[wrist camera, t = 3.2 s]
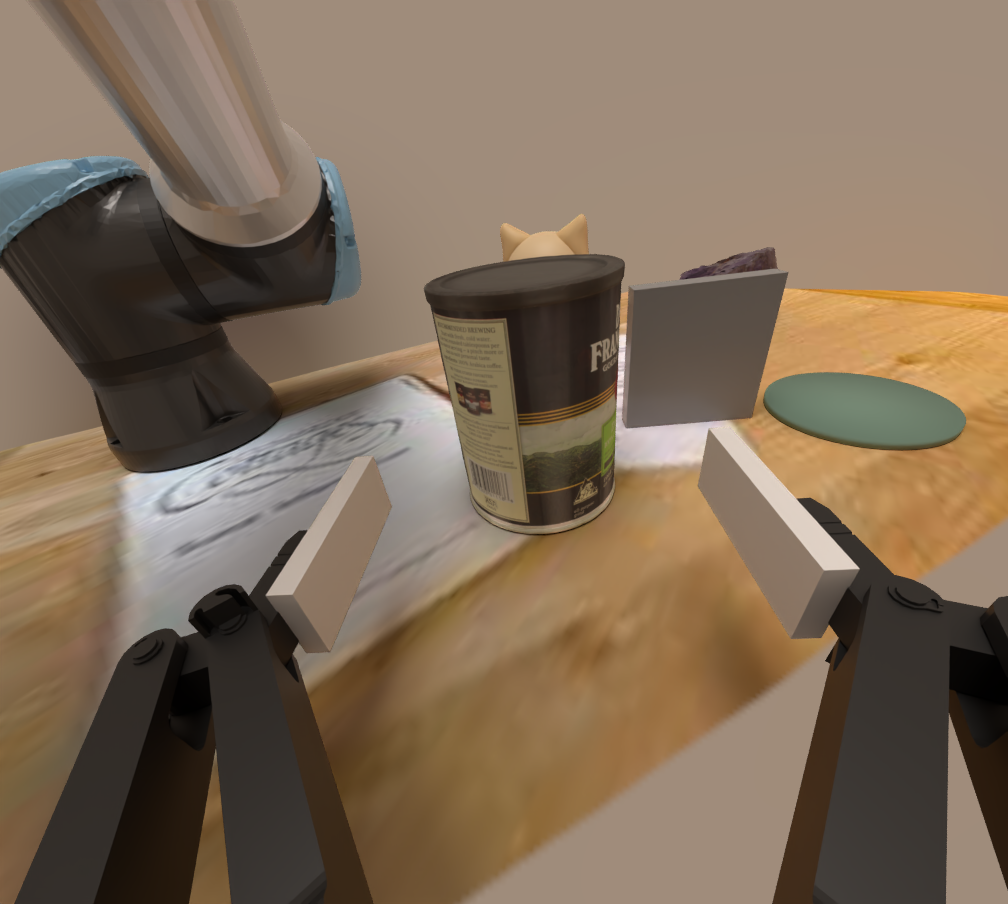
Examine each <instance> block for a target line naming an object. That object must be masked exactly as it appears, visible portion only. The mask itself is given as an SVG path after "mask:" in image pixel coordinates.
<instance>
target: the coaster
mask: <svg viewBox="0 0 1008 904" xmlns="http://www.w3.org/2000/svg"><path fill="white" fill-rule="evenodd" d="M764 405H765V407H766V409H767V410H768V412H769V413H770V414H771V415H772V416H774V417H775V418H776V419H778V420H779V421H781V422H783V423H784V424H786V425H788V426H790V427H792V428H794V429H796V430H799V431H801V432H804V433H806V434H809V435H812V436H815V437H818V438H822V439H825V440H829V441H833V442H837V443H842V444H846V445H852V446H858V447H865V448H873V449H886V450H915V449H925V448H931V447H936V446H940V445H943V444H946V443H949V442H951V441H953V440H954V439H956V438H957V437H958V436H959V435H960V433H961V431H962V430H963V428H964V426H965V424H966V417H965V415H964V413H963V412H962V411H961V409H960V408H958V407H957V406H956V405H955V404H954V403H952V402H951V401H949V400H947V399H946V398H944V397H942V396H940V395H938V394H935V393H933V392H931V391H928V390H926V389H923V388H920V387H917V386H914V385H910V384H907V383H903V382H899V381H895V380H891V379H886V378H881V377H875V376H868V375H861V374H851V373H829V372H826V373H806V374H798V375H793V376H789V377H785V378H782V379H779V380H777V381H775V382H773V383H772V384H771V385H769V386H768V388H767V389H766V392H765V395H764Z"/></svg>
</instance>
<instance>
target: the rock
mask: <svg viewBox="0 0 1008 904" xmlns="http://www.w3.org/2000/svg"><path fill="white" fill-rule="evenodd" d="M768 269H778V268H777V263H776V257H775V249H774V248H770V247H767V248H764V249H761V250H756V251H753V252H748V253H741V254H738V255H734V256H732V257H729V258H728V259H724V260H721V261H718V262H717V263H715V264H712V265H710V266H700V267H699V268H697V269H692V270H690V271H686V272H684V273H683V274H681V278H680V280H683V279H692V278H700V277H709V276H717V275H726V274H734V273H742V272H751V271H759V270H768Z"/></svg>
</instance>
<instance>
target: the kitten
mask: <svg viewBox="0 0 1008 904" xmlns="http://www.w3.org/2000/svg"><path fill="white" fill-rule="evenodd" d="M500 235H501V242H502V248H503V262H505V261H511V260H519V259H526V258H535V257H544V256H558V255H574V254H589V251H588V233H587V222H586V218H585V216H584V215H583V214H580V215H579V216H577V217H576V218H575V219H574V220H573V221H572V222H570V223H569V224H568V225H566V226H565V227H563V228H562V229H561V230H560V231H559V232H554V231H547V232H540V233H536V234H533V235H529V234H527V233H526V232H524V231H522V230H519V229H517V228H515V227H513V226H512V225H510V224H506V223H504V224H503V225H502V226H501V229H500Z"/></svg>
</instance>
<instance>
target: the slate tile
mask: <svg viewBox="0 0 1008 904" xmlns="http://www.w3.org/2000/svg"><path fill="white" fill-rule="evenodd" d="M787 276H788V272H786V271H782V270H779V269H768V270H759V271H751V272H742V273H734V274H726V275H717V276H709V277H700V278H692V279H683V280H675V281H666V282H658V283H650V284H642V285H633V286H629V292H628V312H627V332H626V352H625V372H624V392H623V412H622V420H623V422H624V425H625V427H626V428H637V427H649V426H661V425H673V424H685V423H697V422H709V421H721V420H733V419H745V418H752V414H753V410H754V406H755V402H756V398H757V394H758V390H759V386H760V382H761V378H762V374H763V370H764V366H765V362H766V359H767V355H768V351H769V347H770V343H771V339H772V335H773V331H774V327H775V323H776V319H777V315H778V311H779V307H780V303H781V300H782V296H783V292H784V288H785V284H786V280H787Z"/></svg>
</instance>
